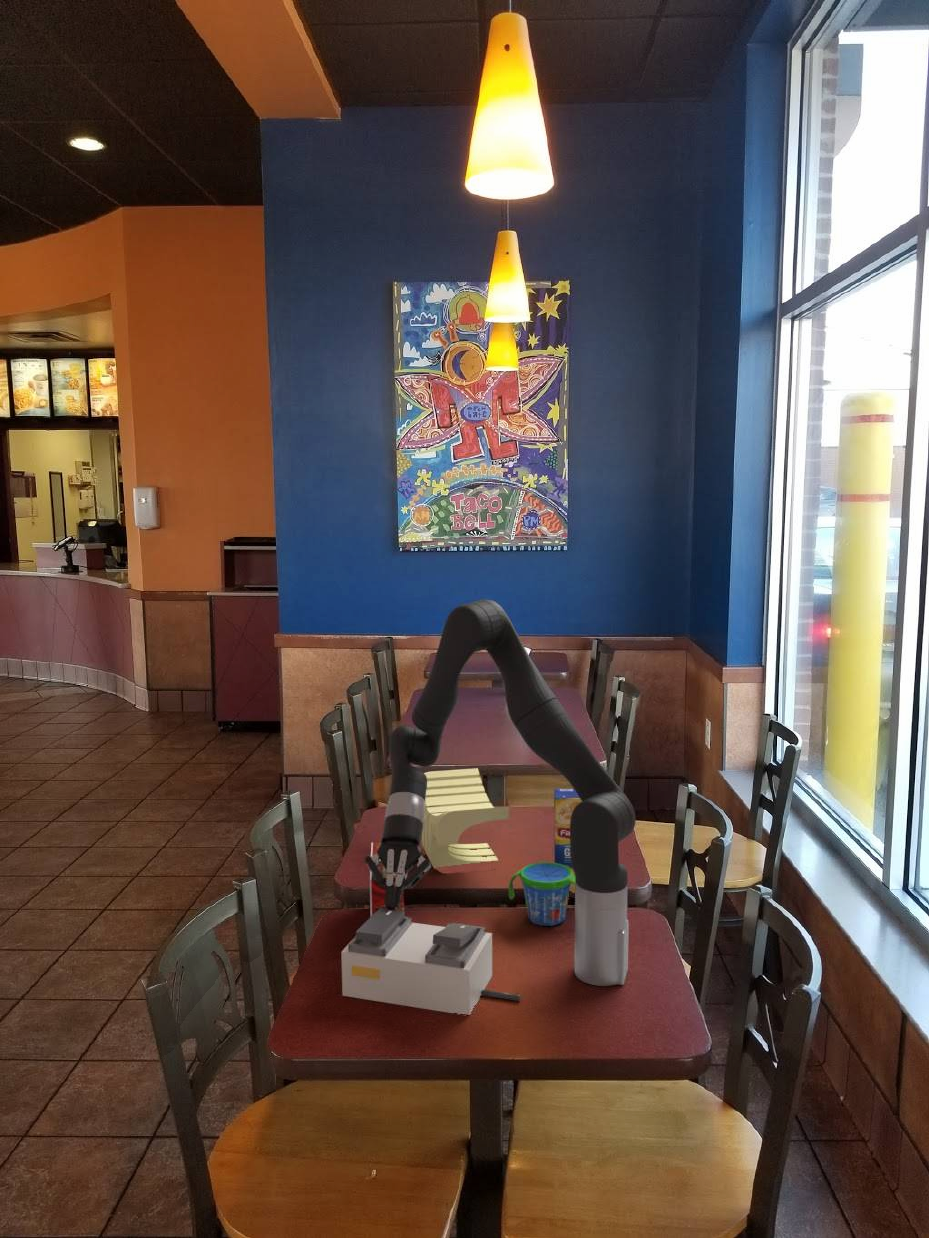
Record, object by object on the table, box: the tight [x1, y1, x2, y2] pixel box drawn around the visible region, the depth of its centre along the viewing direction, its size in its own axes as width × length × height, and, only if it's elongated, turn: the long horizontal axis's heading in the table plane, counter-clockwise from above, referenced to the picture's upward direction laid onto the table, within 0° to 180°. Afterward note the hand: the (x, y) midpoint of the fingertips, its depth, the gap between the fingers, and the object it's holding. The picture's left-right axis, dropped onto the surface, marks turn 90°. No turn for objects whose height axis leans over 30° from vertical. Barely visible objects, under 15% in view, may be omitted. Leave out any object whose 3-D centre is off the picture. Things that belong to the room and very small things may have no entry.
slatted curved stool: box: [421, 767, 510, 869], centre depth 224 cm, size 30×16×18 cm, turn 12°
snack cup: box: [508, 861, 575, 927], centre depth 194 cm, size 16×10×10 cm
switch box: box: [340, 916, 522, 1016], centre depth 167 cm, size 30×14×9 cm, turn 73°
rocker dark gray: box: [355, 908, 406, 943], centre depth 170 cm, size 5×11×2 cm, turn 163°
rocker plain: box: [433, 923, 478, 947], centre depth 166 cm, size 5×11×2 cm, turn 163°
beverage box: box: [553, 788, 582, 893], centre depth 206 cm, size 7×11×22 cm, turn 86°
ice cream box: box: [369, 841, 405, 917], centre depth 193 cm, size 20×6×13 cm, turn 5°
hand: (391, 908), depth 175 cm, fingers closed
